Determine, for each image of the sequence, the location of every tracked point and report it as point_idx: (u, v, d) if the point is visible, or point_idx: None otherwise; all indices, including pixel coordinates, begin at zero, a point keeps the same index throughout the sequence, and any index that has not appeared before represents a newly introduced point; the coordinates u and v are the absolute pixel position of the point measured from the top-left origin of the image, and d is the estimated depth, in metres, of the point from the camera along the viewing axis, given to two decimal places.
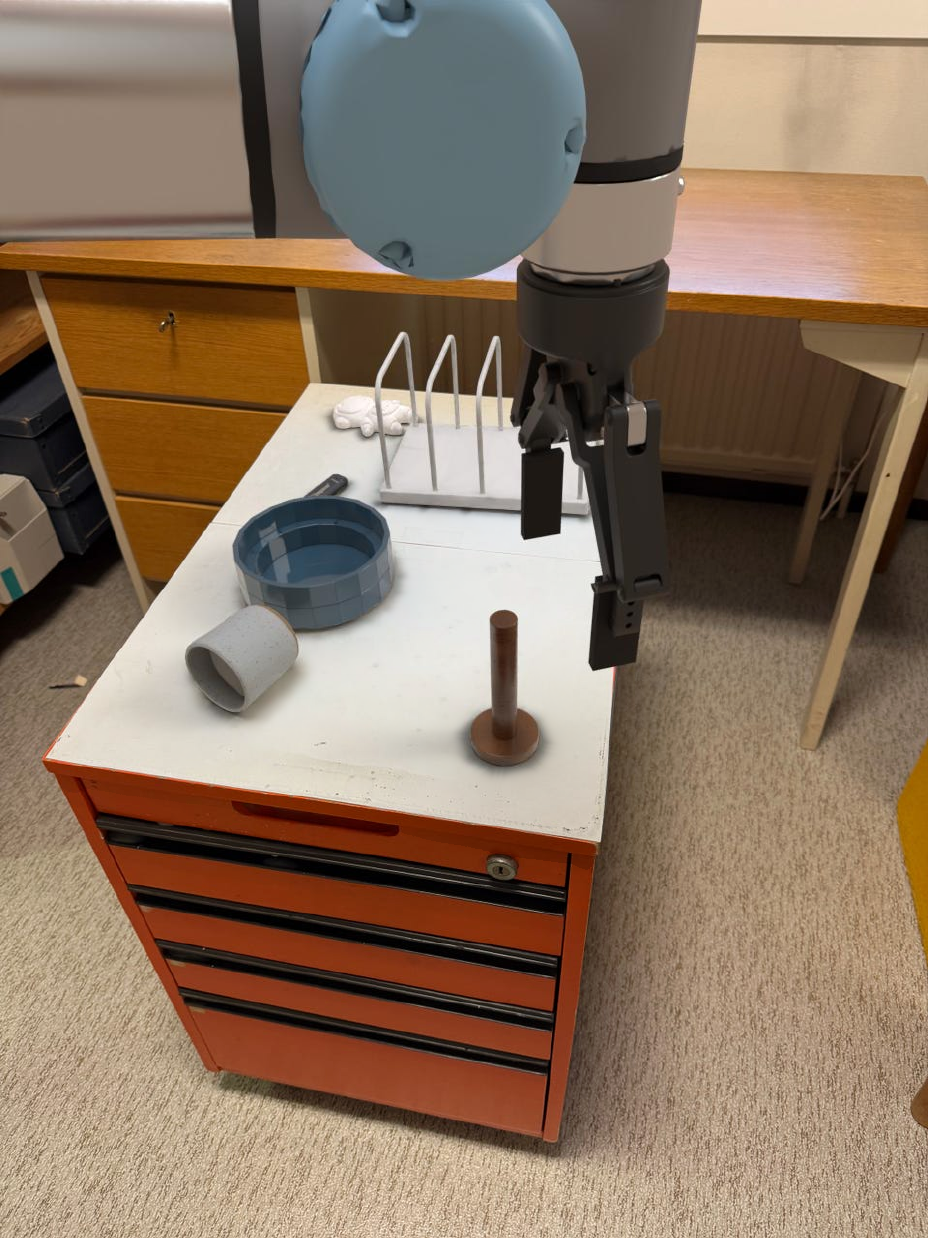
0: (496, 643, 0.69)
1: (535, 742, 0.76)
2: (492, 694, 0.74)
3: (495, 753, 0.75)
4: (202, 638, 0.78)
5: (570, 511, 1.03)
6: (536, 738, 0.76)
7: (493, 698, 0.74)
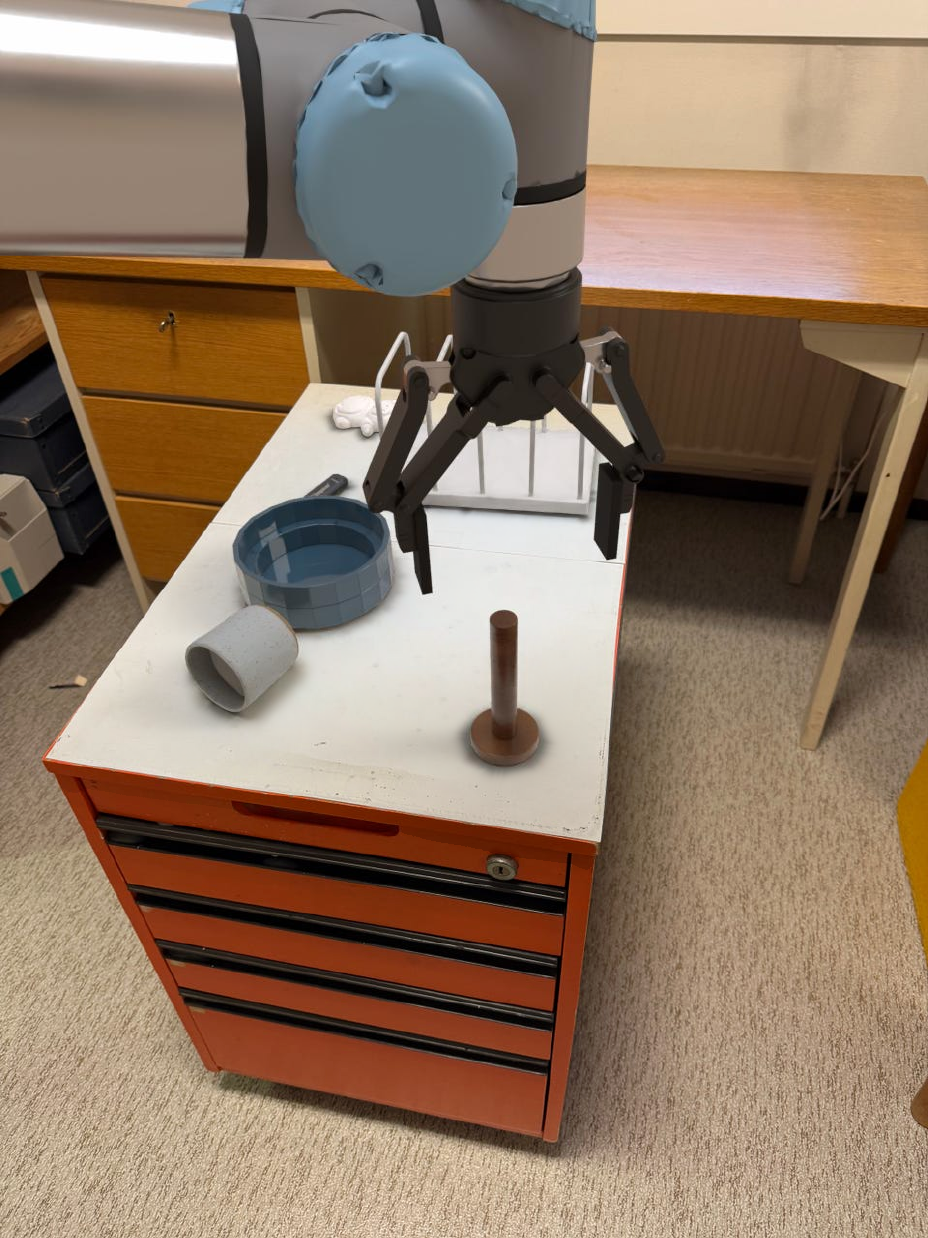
0: (496, 643, 0.69)
1: (535, 742, 0.76)
2: (492, 694, 0.74)
3: (495, 753, 0.75)
4: (202, 638, 0.78)
5: (570, 511, 1.03)
6: (536, 738, 0.76)
7: (493, 698, 0.74)
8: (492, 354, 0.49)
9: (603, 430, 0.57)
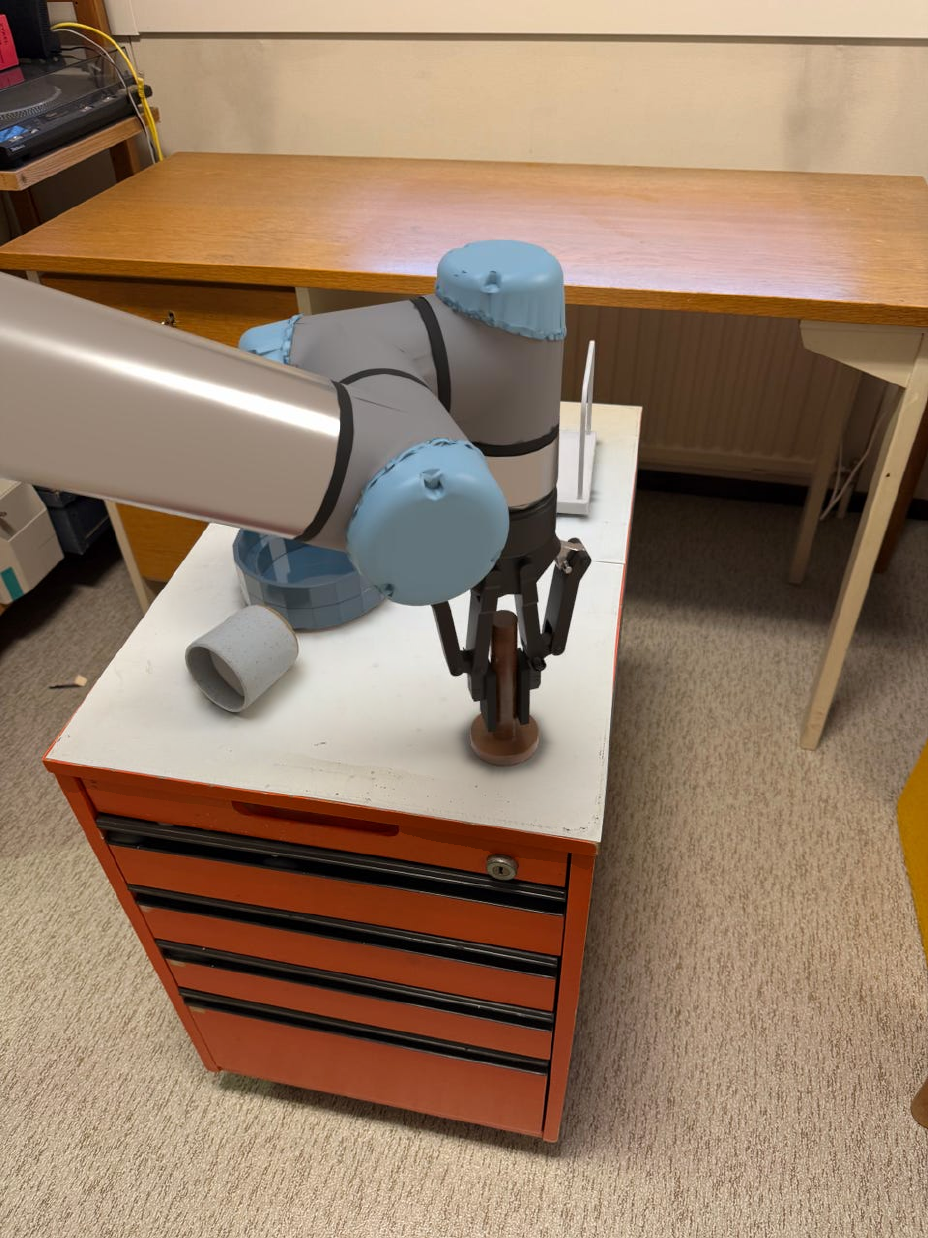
0: (496, 643, 0.69)
1: (535, 742, 0.76)
2: None
3: (495, 753, 0.75)
4: (202, 638, 0.78)
5: (570, 511, 1.03)
6: (536, 738, 0.76)
7: None
8: None
9: (538, 622, 0.68)
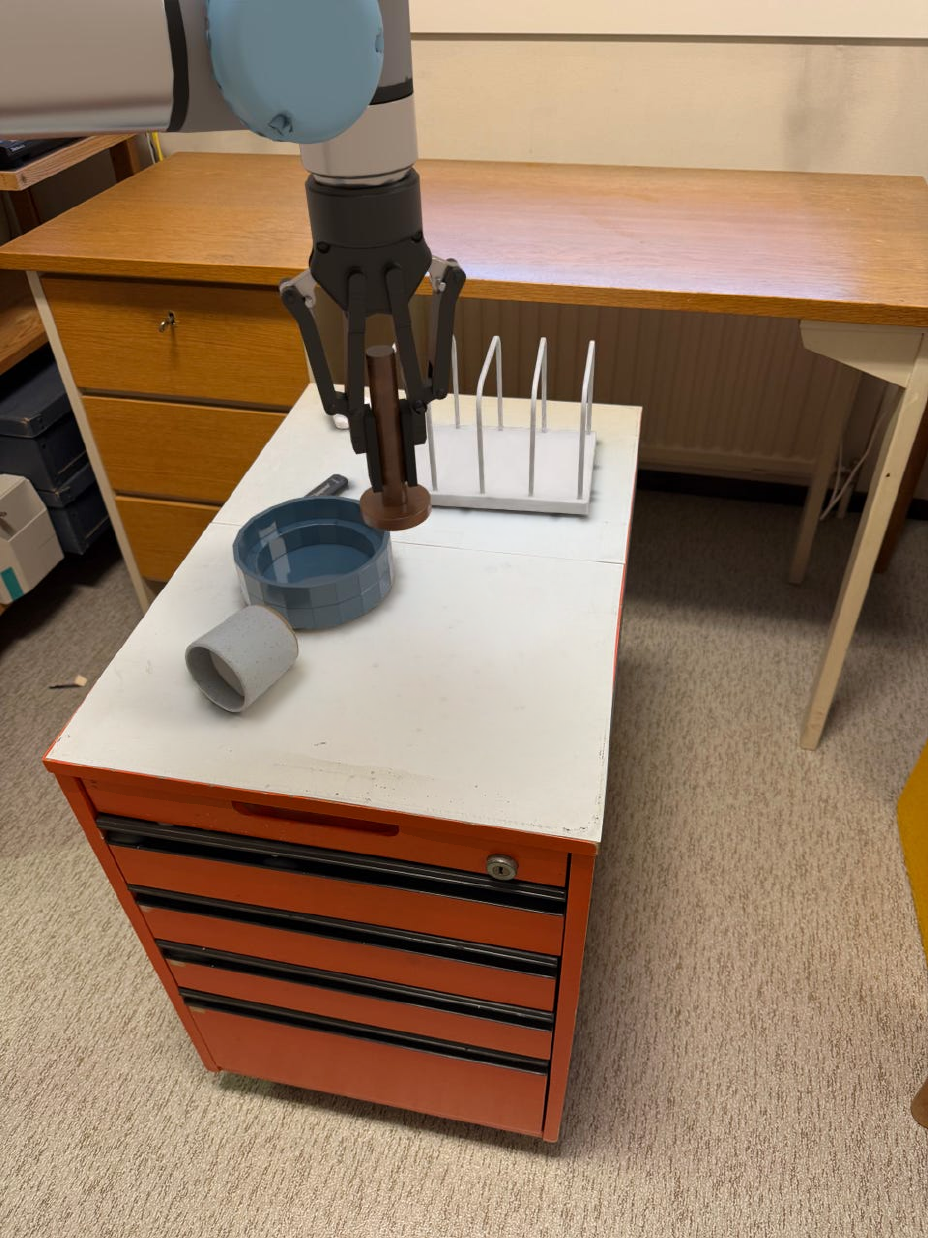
0: (372, 379, 0.66)
1: (425, 508, 0.73)
2: None
3: (382, 516, 0.72)
4: (202, 638, 0.78)
5: (570, 511, 1.03)
6: (427, 505, 0.73)
7: None
8: (340, 245, 0.57)
9: (415, 353, 0.65)
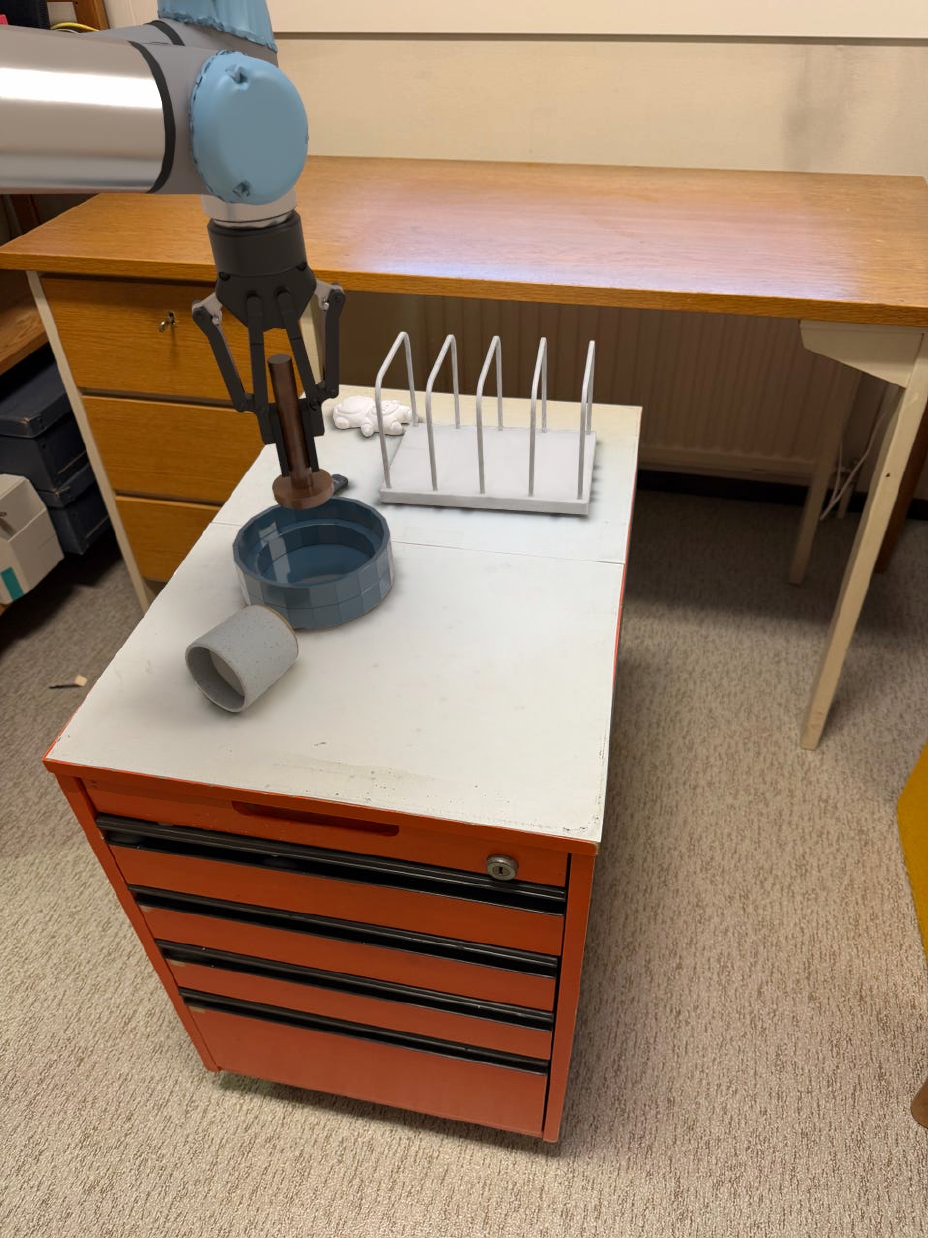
0: (274, 381, 0.79)
1: (327, 490, 0.86)
2: None
3: (289, 497, 0.85)
4: (202, 638, 0.78)
5: (570, 511, 1.03)
6: (328, 487, 0.87)
7: (284, 444, 0.84)
8: (236, 275, 0.71)
9: (308, 360, 0.78)
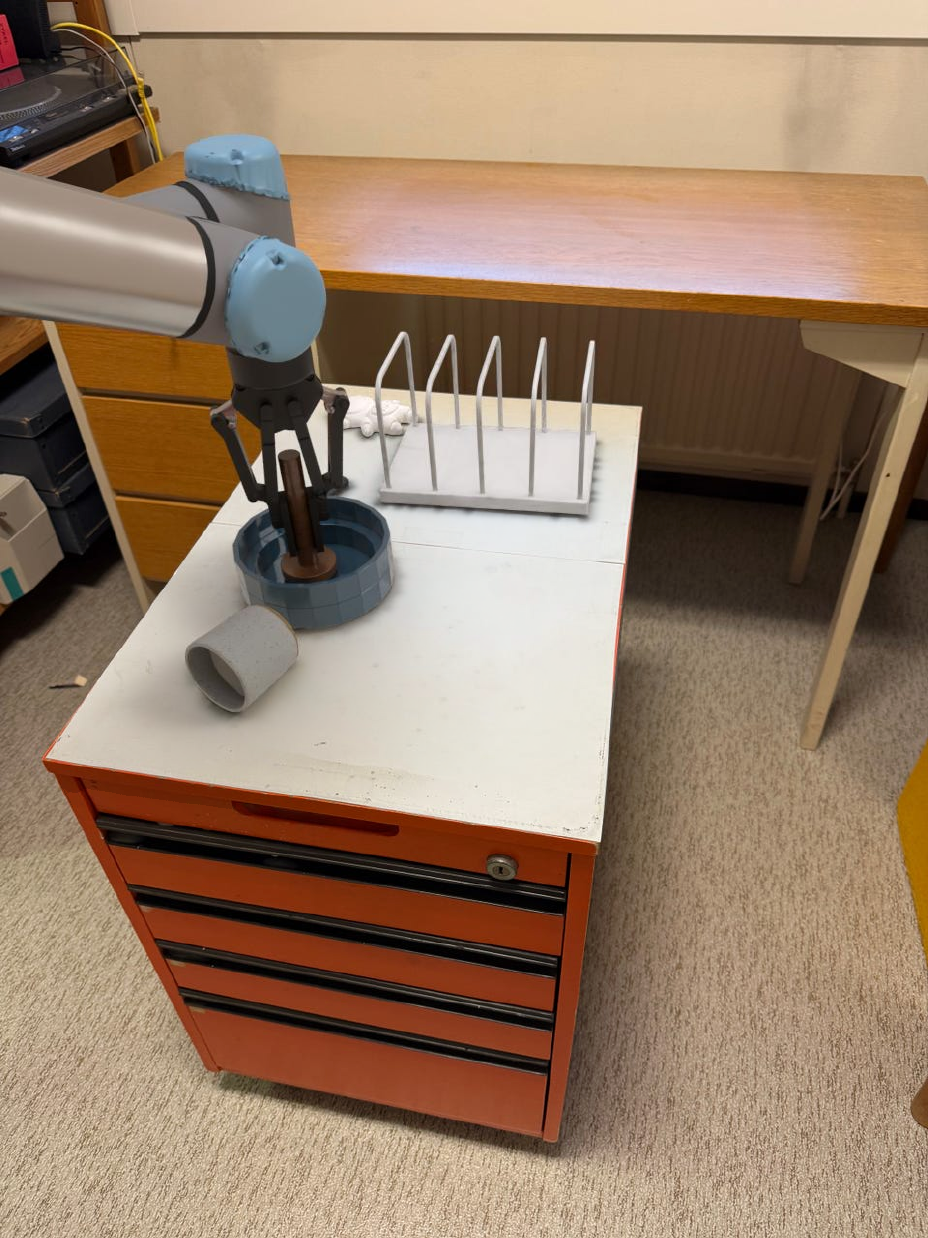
0: (283, 475, 0.87)
1: (331, 568, 0.94)
2: (291, 524, 0.91)
3: (297, 575, 0.93)
4: (202, 638, 0.78)
5: (570, 511, 1.03)
6: (332, 565, 0.94)
7: (292, 527, 0.91)
8: (251, 388, 0.78)
9: (314, 456, 0.86)
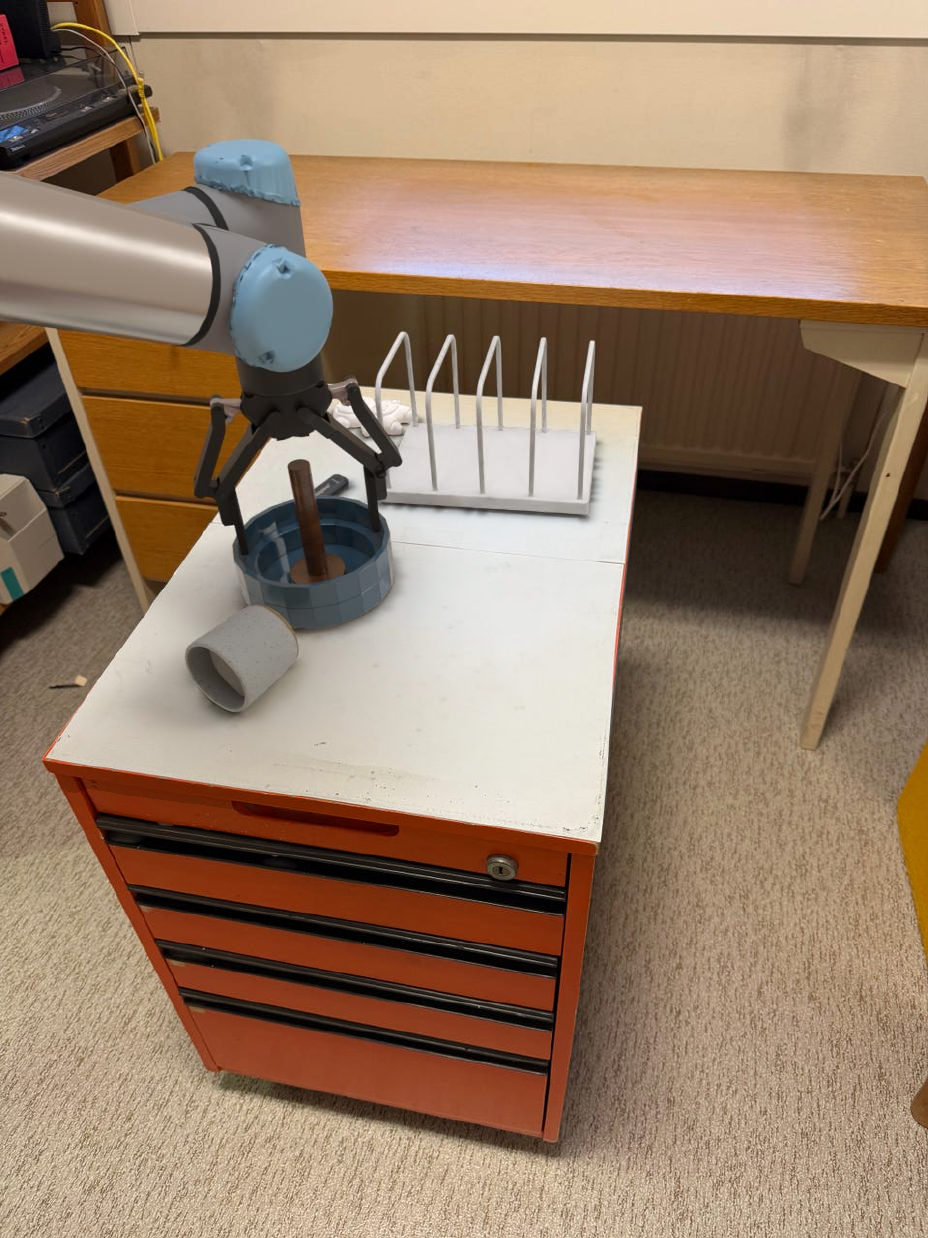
0: (293, 485, 0.86)
1: None
2: (300, 534, 0.91)
3: None
4: (202, 638, 0.78)
5: (570, 511, 1.03)
6: (342, 574, 0.94)
7: (301, 537, 0.91)
8: (260, 395, 0.77)
9: (353, 443, 0.85)
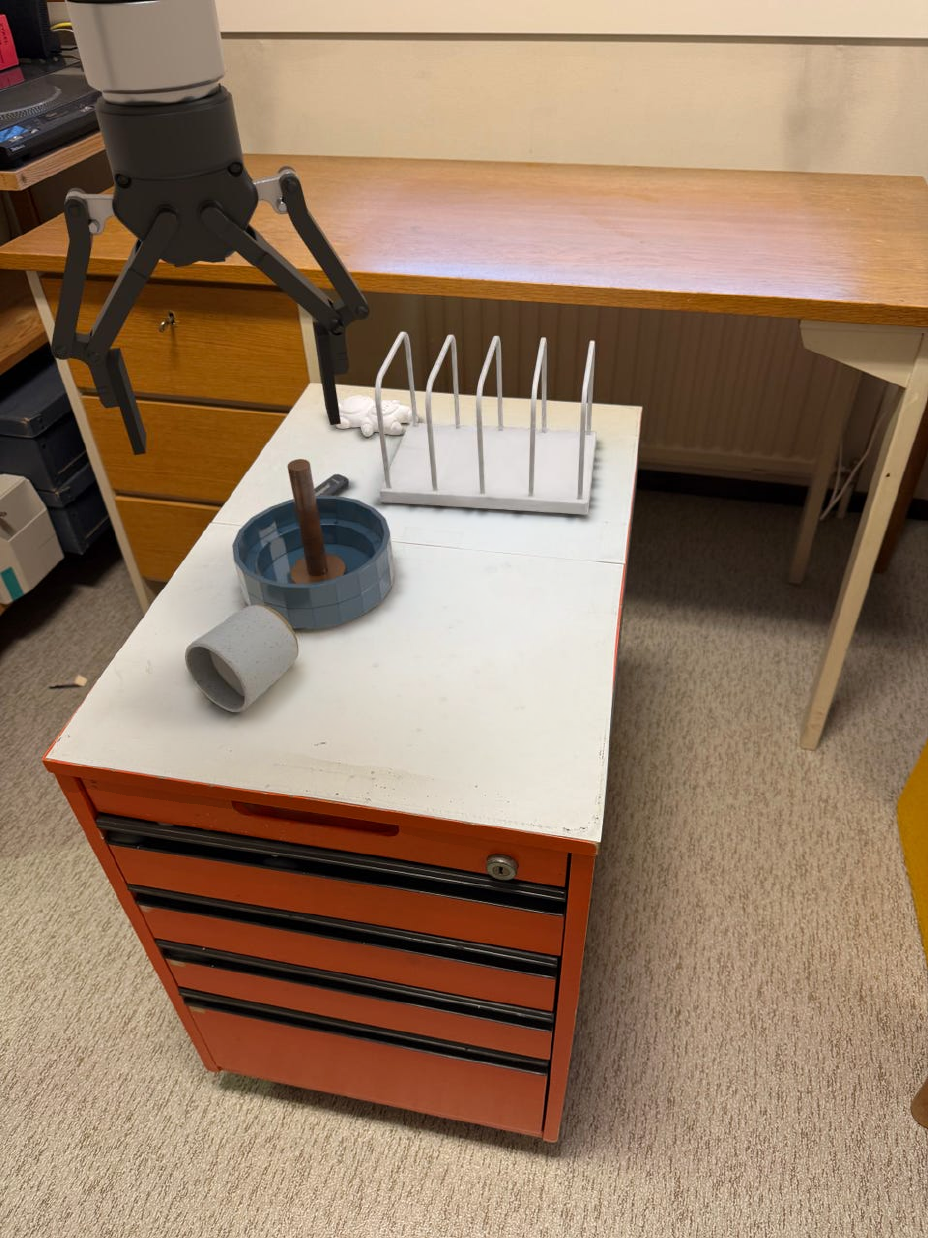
0: (293, 485, 0.86)
1: None
2: (300, 534, 0.91)
3: None
4: (202, 638, 0.78)
5: (570, 511, 1.03)
6: (342, 574, 0.94)
7: (301, 537, 0.91)
8: (136, 176, 0.49)
9: (293, 276, 0.56)
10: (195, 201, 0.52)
